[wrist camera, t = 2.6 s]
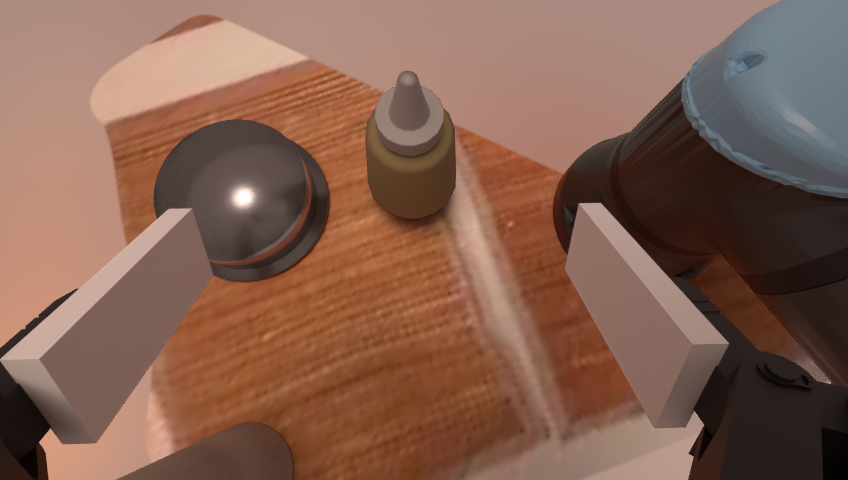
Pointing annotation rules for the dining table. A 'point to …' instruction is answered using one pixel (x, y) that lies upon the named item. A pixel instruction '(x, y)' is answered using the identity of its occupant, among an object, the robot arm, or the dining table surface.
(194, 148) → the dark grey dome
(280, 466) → the thermos bottle
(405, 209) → the squeeze bottle
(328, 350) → the dining table surface
